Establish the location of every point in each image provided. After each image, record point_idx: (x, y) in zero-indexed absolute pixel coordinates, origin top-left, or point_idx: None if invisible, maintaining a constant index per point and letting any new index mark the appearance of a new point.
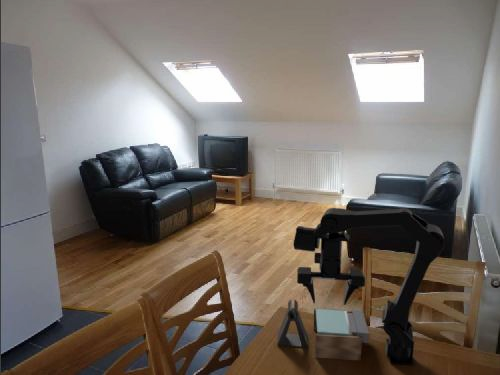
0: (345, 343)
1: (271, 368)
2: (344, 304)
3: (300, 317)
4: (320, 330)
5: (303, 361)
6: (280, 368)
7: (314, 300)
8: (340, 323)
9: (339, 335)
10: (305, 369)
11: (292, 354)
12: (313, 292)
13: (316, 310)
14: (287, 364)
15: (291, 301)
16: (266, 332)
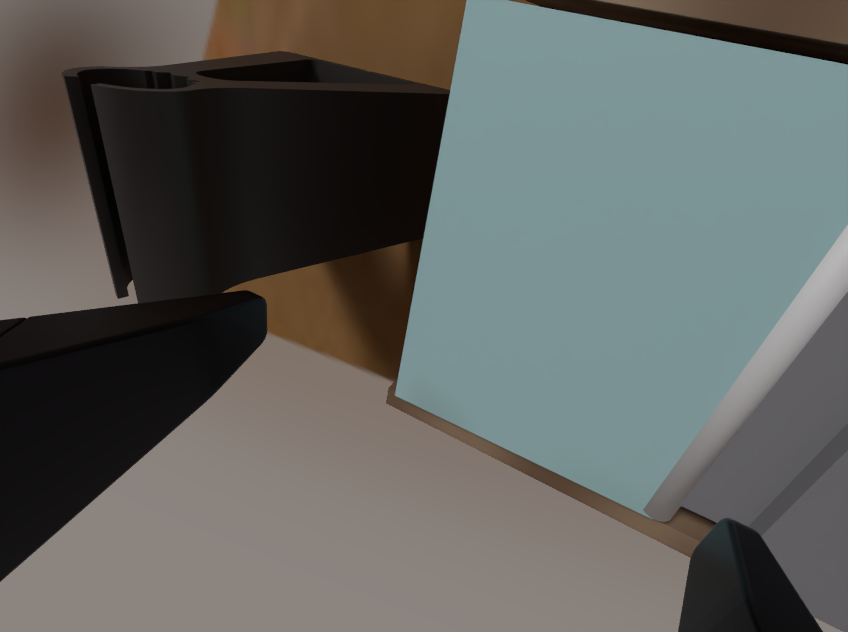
0: None
1: (273, 325)
2: (695, 574)
3: (318, 105)
4: (418, 392)
5: (396, 329)
6: (303, 336)
7: (215, 384)
8: (646, 367)
9: (554, 474)
10: (396, 377)
11: (353, 266)
12: (38, 540)
13: (465, 41)
14: (329, 324)
15: (76, 126)
16: (225, 23)
